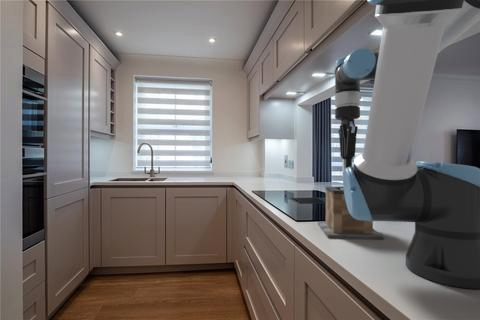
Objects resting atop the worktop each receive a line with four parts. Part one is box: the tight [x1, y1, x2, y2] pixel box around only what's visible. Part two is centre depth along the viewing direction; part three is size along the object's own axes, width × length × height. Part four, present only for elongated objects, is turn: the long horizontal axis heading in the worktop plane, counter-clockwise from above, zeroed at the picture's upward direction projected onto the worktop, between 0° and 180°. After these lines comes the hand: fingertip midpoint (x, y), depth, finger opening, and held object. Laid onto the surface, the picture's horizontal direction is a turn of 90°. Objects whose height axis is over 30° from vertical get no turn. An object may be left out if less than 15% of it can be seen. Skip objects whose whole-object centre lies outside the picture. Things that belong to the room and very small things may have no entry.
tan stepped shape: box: [317, 186, 384, 240], centre depth 88 cm, size 16×16×14 cm
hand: (347, 178), depth 88 cm, fingers closed
